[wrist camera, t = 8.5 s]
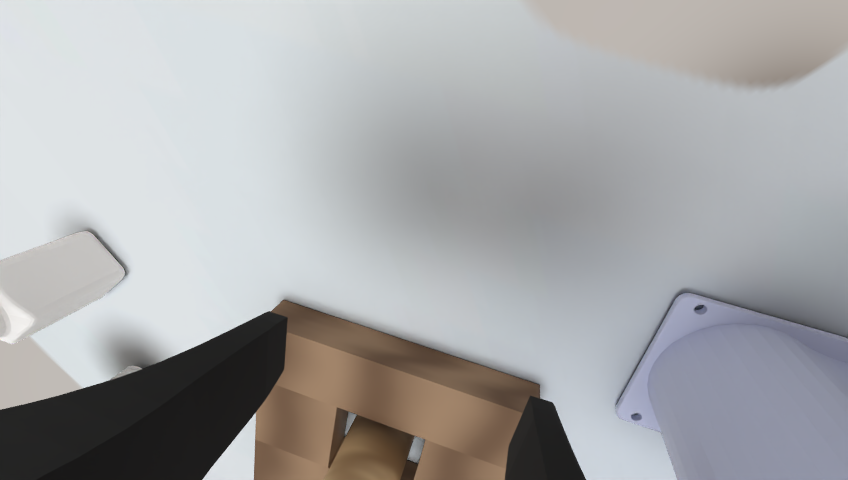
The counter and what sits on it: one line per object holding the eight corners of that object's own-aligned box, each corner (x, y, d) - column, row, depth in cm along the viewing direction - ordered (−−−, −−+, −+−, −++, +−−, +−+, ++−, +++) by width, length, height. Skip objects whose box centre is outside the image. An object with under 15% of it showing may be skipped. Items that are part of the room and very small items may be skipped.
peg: (418, 406, 26) (374, 535, 19) (414, 450, 28) (371, 585, 21) (359, 391, 27) (295, 510, 20) (358, 435, 28) (299, 560, 21)
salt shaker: (90, 224, 27) (-114, 297, 18) (133, 272, 28) (-45, 363, 19) (64, 252, 29) (-135, 330, 20) (105, 296, 29) (-70, 390, 21)
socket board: (539, 384, 23) (540, 418, 21) (477, 529, 29) (472, 568, 27) (283, 299, 25) (259, 322, 23) (274, 450, 31) (253, 480, 29)
